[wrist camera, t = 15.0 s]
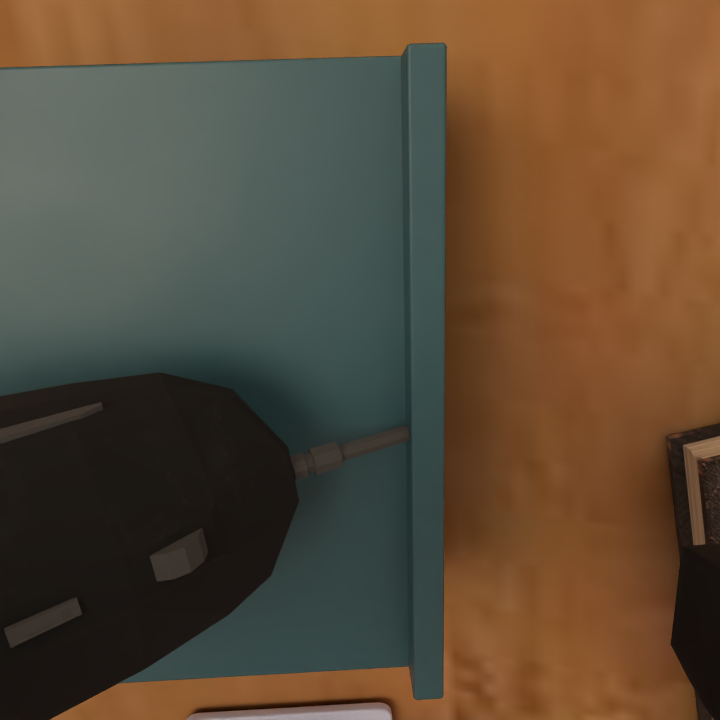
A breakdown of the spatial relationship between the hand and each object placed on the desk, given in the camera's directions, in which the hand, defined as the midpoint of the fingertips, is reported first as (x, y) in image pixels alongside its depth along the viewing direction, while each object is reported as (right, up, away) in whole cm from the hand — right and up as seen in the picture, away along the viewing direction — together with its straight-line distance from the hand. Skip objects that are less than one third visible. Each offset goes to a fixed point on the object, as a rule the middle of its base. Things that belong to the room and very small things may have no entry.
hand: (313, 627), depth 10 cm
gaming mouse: (-5, +1, +3) cm, 6 cm away
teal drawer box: (-3, +5, +10) cm, 11 cm away
